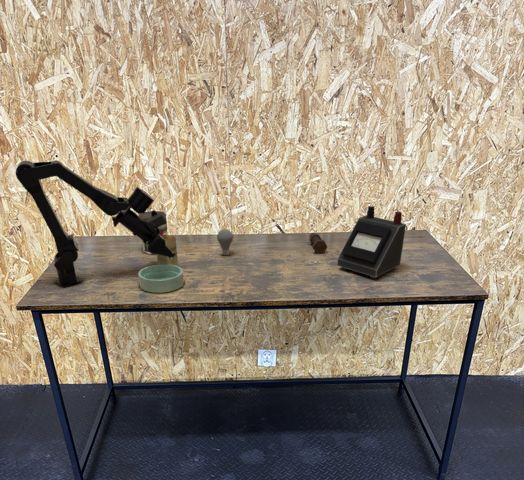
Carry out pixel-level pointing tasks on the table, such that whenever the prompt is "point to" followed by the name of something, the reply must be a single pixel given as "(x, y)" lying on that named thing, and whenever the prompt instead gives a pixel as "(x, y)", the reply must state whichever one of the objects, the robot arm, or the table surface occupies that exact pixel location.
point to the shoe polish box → (171, 244)
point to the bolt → (317, 243)
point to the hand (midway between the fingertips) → (171, 252)
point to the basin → (161, 278)
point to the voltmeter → (373, 245)
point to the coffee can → (161, 229)
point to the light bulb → (225, 240)
